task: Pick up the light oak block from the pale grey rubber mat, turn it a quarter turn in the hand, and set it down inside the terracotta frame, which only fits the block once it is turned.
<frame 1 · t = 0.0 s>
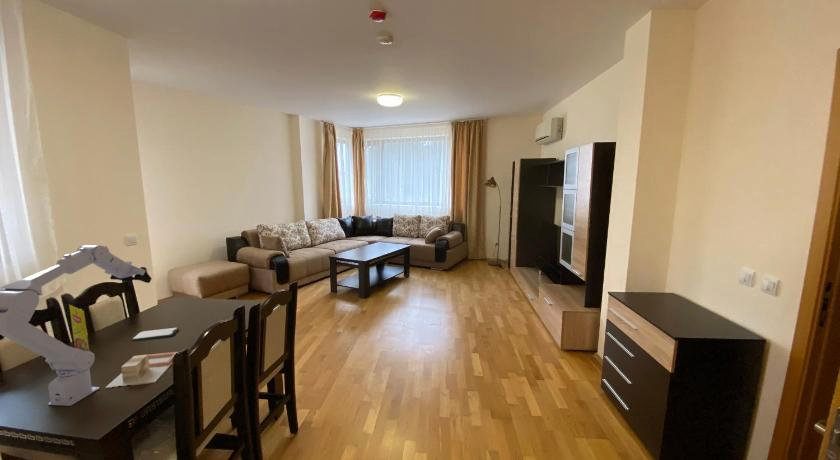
hand: (140, 280, 135), 32 cm above the table, tool tilted 50°, fingers open, 7 cm apart
phone case: (156, 336, 157), on the table
block: (136, 375, 123), resting on mat
mat: (146, 369, 128), on the table
food package: (82, 352, 140), on the table
frame: (156, 361, 133), resting on mat
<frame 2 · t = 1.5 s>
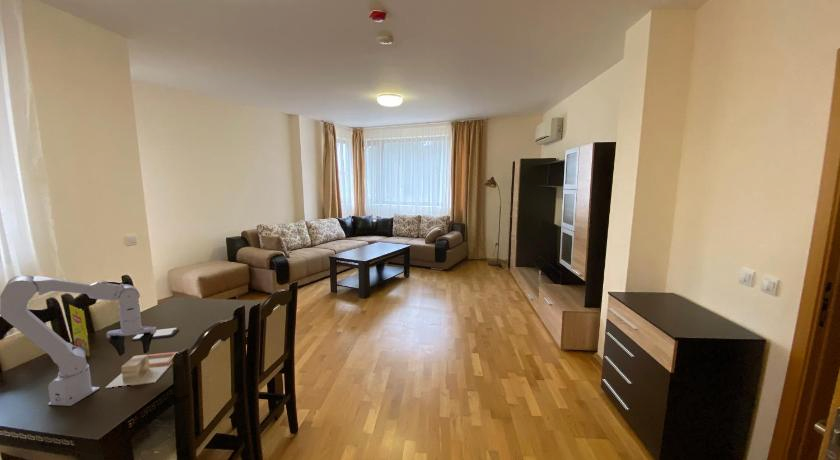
hand: (134, 353, 122), 9 cm above the table, tool pointing down, fingers open, 7 cm apart
nothing on the table moved.
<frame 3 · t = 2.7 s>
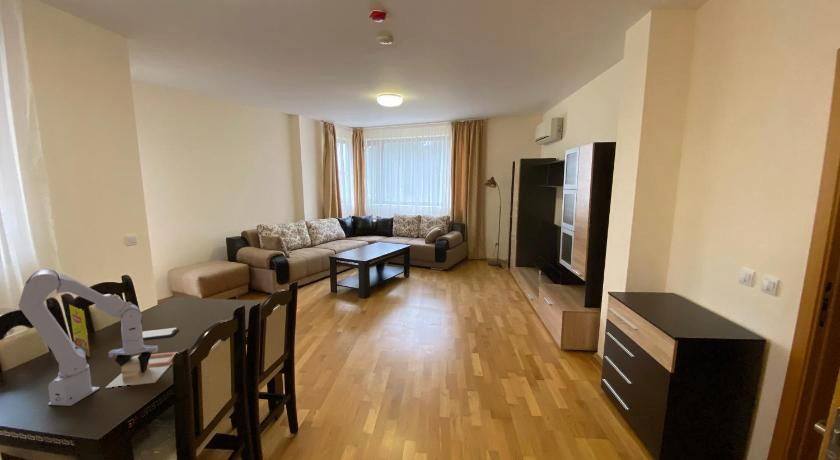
hand: (136, 372, 123), 2 cm above the table, tool pointing down, fingers closed on block, 4 cm apart
block: (136, 375, 123), resting on mat, touching gripper
everything else where it was.
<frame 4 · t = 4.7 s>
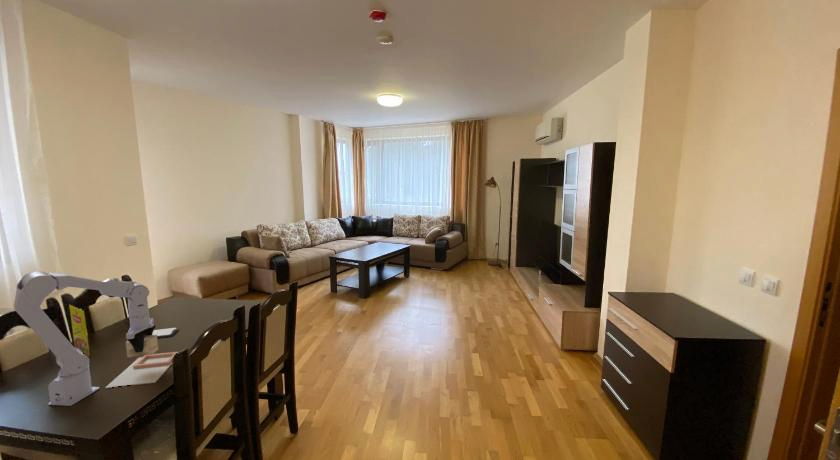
hand: (143, 348, 126), 9 cm above the table, tool pointing down, fingers closed on block, 4 cm apart
block: (143, 353, 127), point 7 cm above the table, touching gripper
everything else where it was.
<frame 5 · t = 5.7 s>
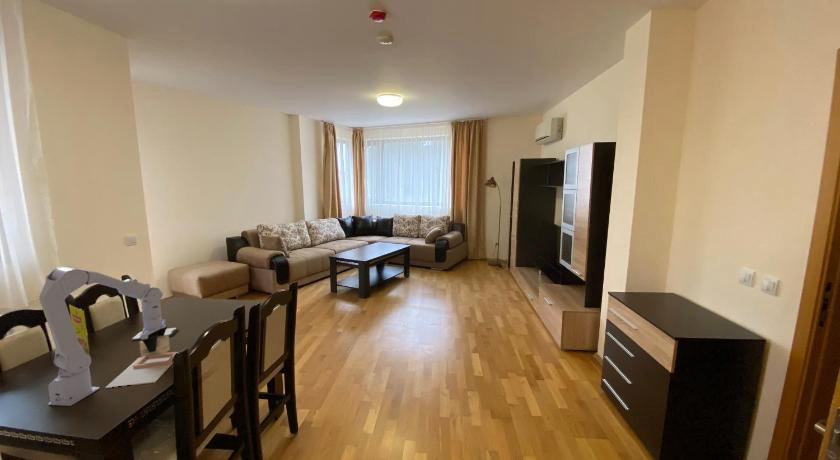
hand: (155, 348, 133), 6 cm above the table, tool pointing down, fingers closed on block, 4 cm apart
block: (155, 352, 133), point 4 cm above the table, touching gripper
everything else where it was.
when the fingers open (3 cm above the table, at t = 6.6 s): block drops 1 cm, resting on mat.
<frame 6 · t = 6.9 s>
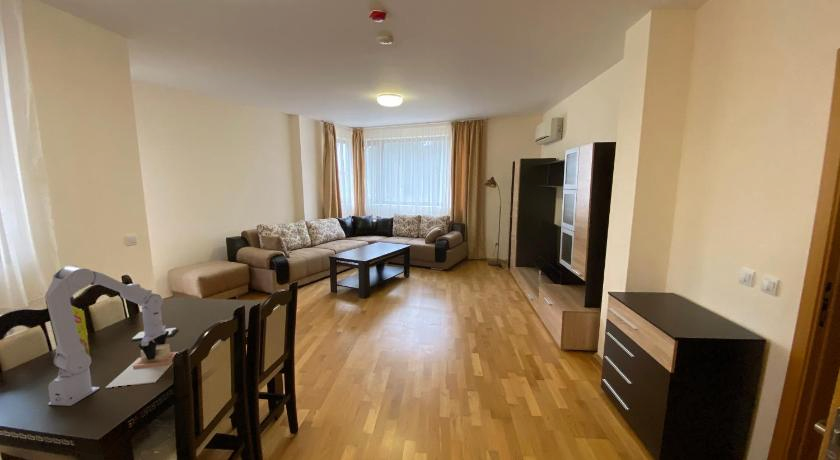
hand: (156, 354, 133), 3 cm above the table, tool pointing down, fingers open, 7 cm apart
block: (156, 361, 133), resting on mat
everything else where it was.
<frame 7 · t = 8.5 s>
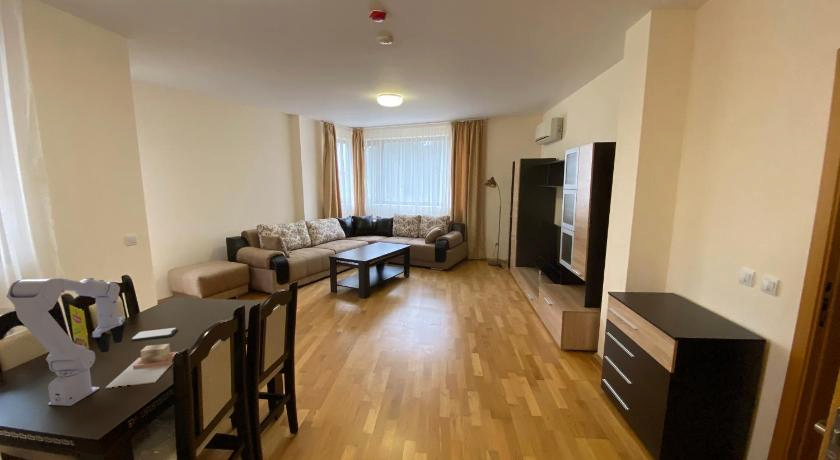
hand: (111, 346, 126), 9 cm above the table, tool pointing down, fingers open, 7 cm apart
nothing on the table moved.
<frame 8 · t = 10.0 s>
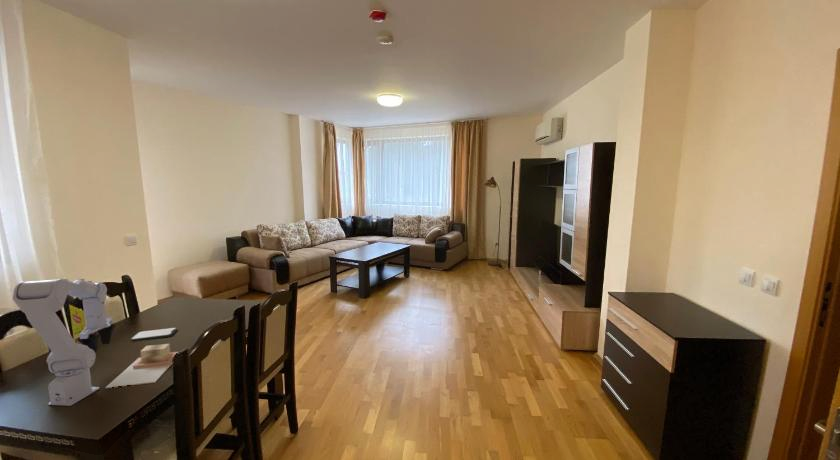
hand: (99, 348, 125), 9 cm above the table, tool pointing down, fingers open, 7 cm apart
nothing on the table moved.
at the end: block 0.0 cm off-centre on the frame, point 0.0 cm above the frame's base; block tilted 0°; the gripper is holding nothing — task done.
